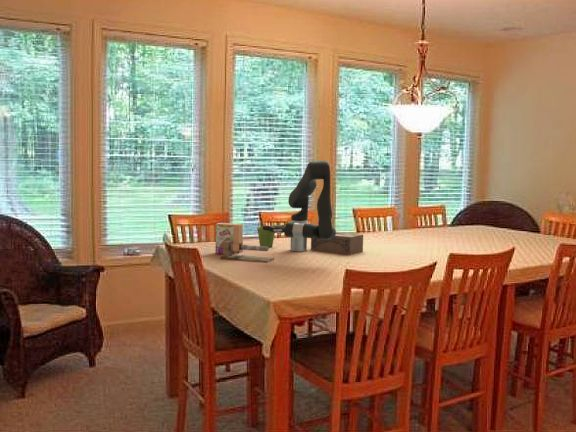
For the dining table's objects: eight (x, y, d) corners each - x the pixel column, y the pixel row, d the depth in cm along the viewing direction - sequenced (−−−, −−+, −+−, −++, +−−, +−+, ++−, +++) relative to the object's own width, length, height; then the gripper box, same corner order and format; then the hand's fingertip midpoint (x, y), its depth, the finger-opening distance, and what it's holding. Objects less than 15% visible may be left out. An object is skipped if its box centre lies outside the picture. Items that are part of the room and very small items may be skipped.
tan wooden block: (237, 251, 327) (237, 223, 326) (242, 251, 326) (243, 224, 325) (232, 253, 322) (233, 225, 320) (238, 253, 321) (238, 225, 319)
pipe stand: (227, 255, 331) (228, 239, 330) (274, 259, 323) (274, 243, 323) (220, 258, 322) (220, 242, 321) (267, 262, 314) (267, 246, 313)
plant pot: (277, 245, 369) (277, 226, 368) (274, 248, 357) (275, 229, 356) (257, 244, 370) (257, 226, 369) (254, 248, 359) (254, 228, 357)
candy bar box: (215, 253, 336) (215, 223, 334) (218, 252, 341) (218, 222, 339) (234, 255, 333) (235, 224, 331) (237, 253, 338) (238, 223, 336)
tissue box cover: (310, 250, 358) (311, 232, 357) (324, 247, 369) (324, 230, 368) (350, 255, 343) (350, 237, 342) (362, 252, 355) (363, 234, 354)
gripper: (299, 221, 319) (267, 219, 324) (291, 224, 306) (258, 221, 312) (299, 235, 320) (267, 233, 325) (291, 239, 307) (258, 236, 313)
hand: (263, 227), depth 318 cm, fingers closed
